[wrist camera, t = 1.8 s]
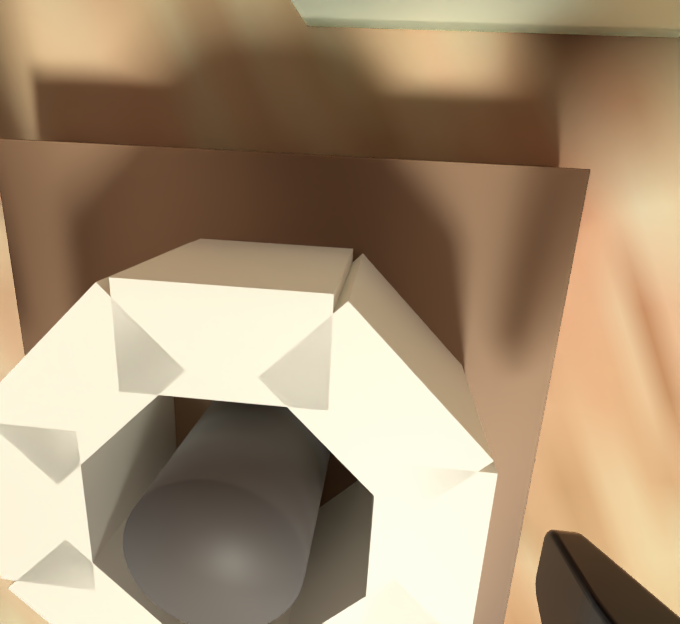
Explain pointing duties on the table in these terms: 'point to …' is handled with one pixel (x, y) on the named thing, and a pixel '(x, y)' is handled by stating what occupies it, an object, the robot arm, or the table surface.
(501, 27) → the tray
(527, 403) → the stake board
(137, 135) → the table surface
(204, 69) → the table surface
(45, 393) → the ring
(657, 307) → the table surface
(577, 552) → the robot arm
